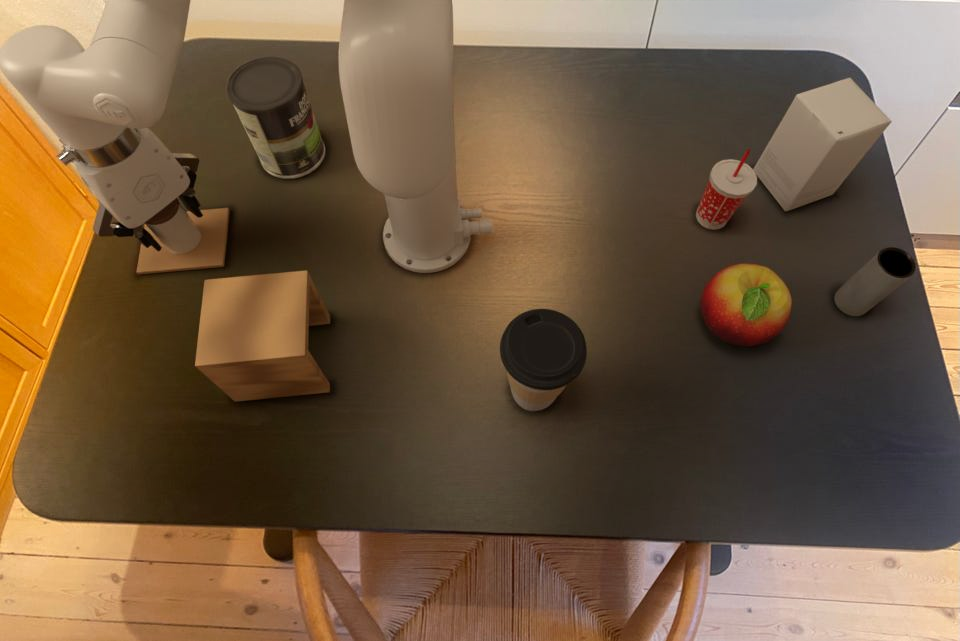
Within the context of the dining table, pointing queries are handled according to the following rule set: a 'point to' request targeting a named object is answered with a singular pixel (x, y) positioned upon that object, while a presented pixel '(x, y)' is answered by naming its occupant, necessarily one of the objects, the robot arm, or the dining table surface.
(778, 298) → the fruit
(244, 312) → the brown piece
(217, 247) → the mat
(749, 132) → the dining table surface
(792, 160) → the white product box
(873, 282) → the grey hollow cylinder
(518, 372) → the coffee cup
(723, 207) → the beverage cup
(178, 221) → the bean jar
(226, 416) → the dining table surface
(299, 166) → the coffee can
